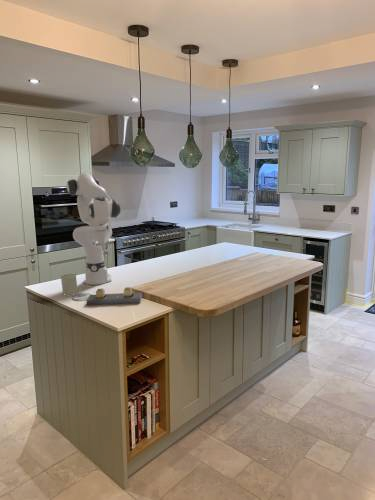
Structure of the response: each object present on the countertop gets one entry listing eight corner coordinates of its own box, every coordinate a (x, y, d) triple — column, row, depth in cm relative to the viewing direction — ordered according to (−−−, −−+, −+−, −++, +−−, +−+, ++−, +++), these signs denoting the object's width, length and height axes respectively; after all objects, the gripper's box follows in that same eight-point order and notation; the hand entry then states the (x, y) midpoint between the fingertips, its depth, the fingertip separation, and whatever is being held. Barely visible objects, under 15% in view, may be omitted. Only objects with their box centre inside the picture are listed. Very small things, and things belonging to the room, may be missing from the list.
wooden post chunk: (125, 299, 224) (124, 287, 222) (132, 299, 224) (131, 286, 223) (124, 302, 220) (123, 289, 219) (131, 301, 220) (130, 288, 219)
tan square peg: (98, 301, 224) (97, 288, 222) (105, 300, 224) (104, 288, 222) (97, 303, 220) (95, 290, 218) (104, 303, 220) (102, 290, 218)
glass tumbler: (74, 290, 247) (72, 272, 244) (80, 293, 240) (78, 274, 237) (60, 293, 241) (58, 275, 238) (66, 296, 234) (64, 277, 231)
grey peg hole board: (91, 299, 227) (90, 294, 226) (142, 297, 227) (141, 292, 226) (87, 305, 217) (86, 300, 216) (140, 303, 217) (139, 297, 217)
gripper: (101, 223, 233) (103, 245, 236) (94, 228, 213) (96, 252, 216) (111, 222, 233) (113, 245, 236) (105, 227, 213) (107, 252, 216)
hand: (105, 248), depth 226 cm, fingers open, 8 cm apart
